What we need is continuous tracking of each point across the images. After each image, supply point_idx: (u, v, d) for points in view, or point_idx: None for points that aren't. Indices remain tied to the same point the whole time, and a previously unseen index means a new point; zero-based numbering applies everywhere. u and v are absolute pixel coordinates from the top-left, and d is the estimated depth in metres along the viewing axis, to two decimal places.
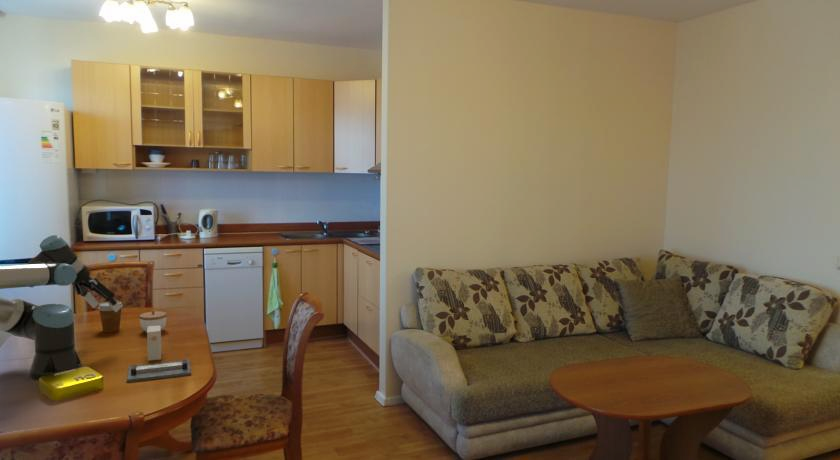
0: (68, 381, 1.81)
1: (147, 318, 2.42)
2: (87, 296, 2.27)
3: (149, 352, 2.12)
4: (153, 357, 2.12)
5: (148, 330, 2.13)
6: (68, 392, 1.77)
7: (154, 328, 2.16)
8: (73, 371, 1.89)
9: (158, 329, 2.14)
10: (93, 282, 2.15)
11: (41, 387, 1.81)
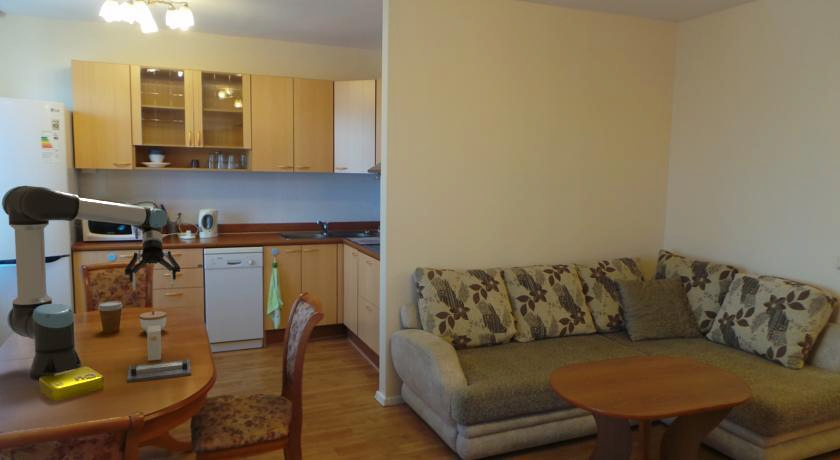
0: (68, 380, 1.81)
1: (147, 318, 2.42)
2: None
3: (149, 352, 2.12)
4: (153, 357, 2.12)
5: (148, 330, 2.13)
6: (68, 392, 1.77)
7: (154, 328, 2.16)
8: (73, 371, 1.89)
9: (158, 329, 2.14)
10: None
11: (41, 387, 1.81)
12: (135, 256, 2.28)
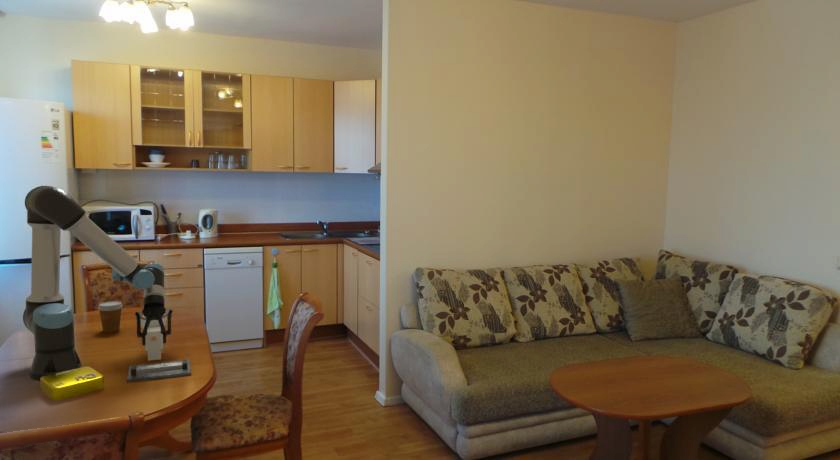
0: (68, 380, 1.81)
1: None
2: None
3: (149, 352, 2.12)
4: (153, 357, 2.12)
5: (148, 330, 2.13)
6: (68, 392, 1.77)
7: (154, 328, 2.16)
8: (74, 371, 1.89)
9: (158, 329, 2.14)
10: (172, 311, 2.24)
11: (42, 386, 1.81)
12: (138, 316, 2.18)
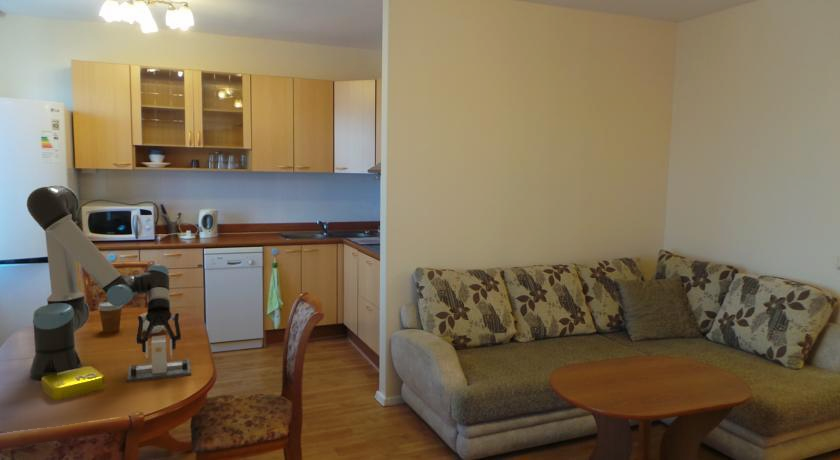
0: (69, 380, 1.81)
1: None
2: None
3: (154, 364, 1.96)
4: (158, 370, 1.97)
5: (152, 341, 1.97)
6: (68, 392, 1.77)
7: (159, 338, 2.00)
8: (76, 370, 1.90)
9: (163, 339, 1.99)
10: (178, 315, 2.09)
11: (43, 386, 1.82)
12: (141, 320, 2.02)
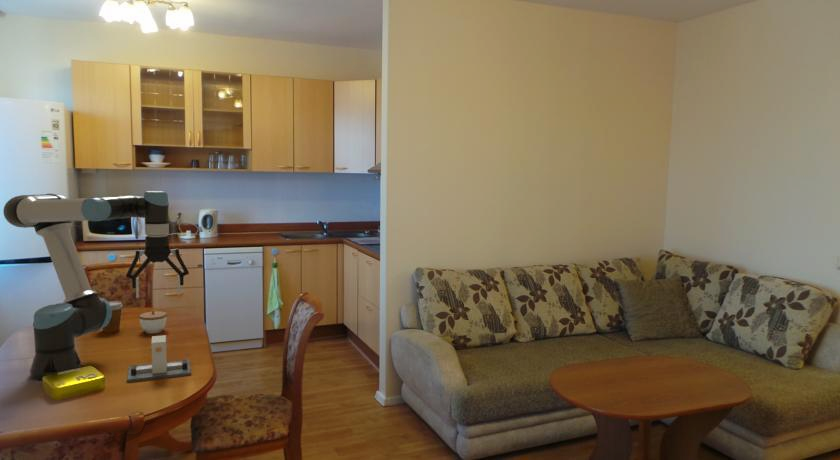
0: (69, 380, 1.81)
1: (147, 318, 2.42)
2: None
3: (154, 364, 1.96)
4: (158, 370, 1.97)
5: (152, 341, 1.97)
6: (69, 392, 1.78)
7: (159, 338, 2.00)
8: (77, 370, 1.90)
9: (163, 339, 1.99)
10: (178, 250, 1.99)
11: (44, 386, 1.82)
12: (137, 256, 1.93)
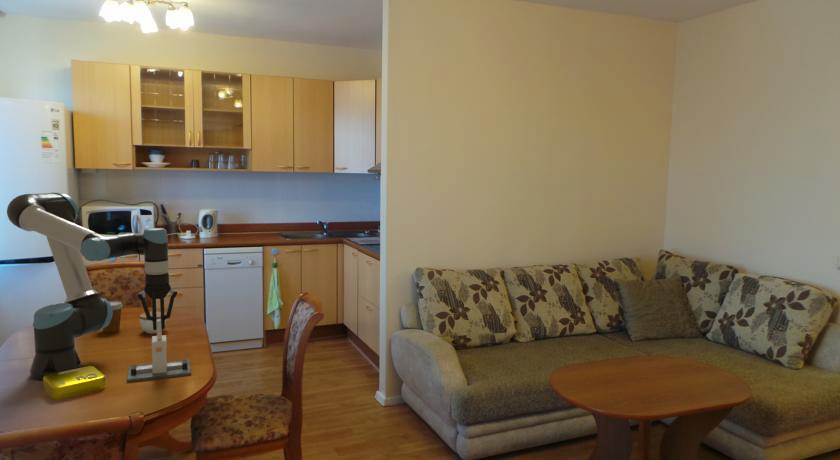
0: (69, 380, 1.81)
1: None
2: None
3: (154, 364, 1.96)
4: (158, 370, 1.97)
5: (153, 340, 1.97)
6: (69, 392, 1.78)
7: None
8: (77, 370, 1.90)
9: (164, 339, 1.99)
10: None
11: (45, 385, 1.82)
12: (142, 298, 1.95)
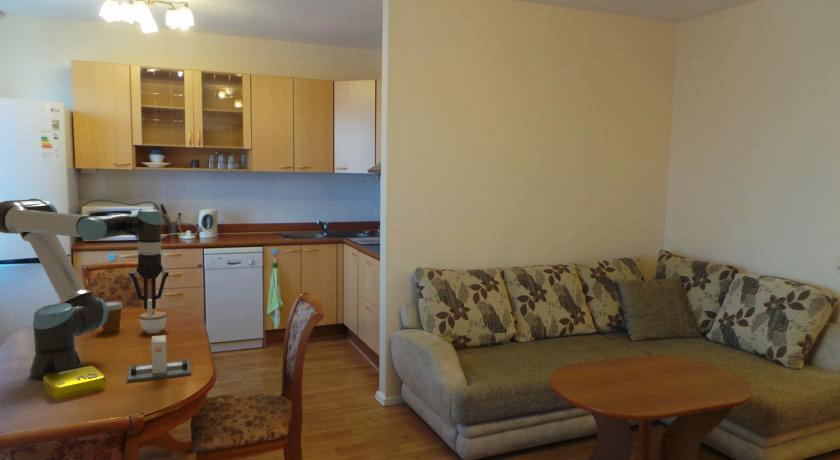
0: (70, 380, 1.81)
1: None
2: None
3: (154, 364, 1.96)
4: (158, 370, 1.97)
5: (152, 341, 1.97)
6: (69, 392, 1.78)
7: (159, 338, 2.00)
8: (78, 370, 1.90)
9: (163, 339, 1.99)
10: (168, 274, 2.04)
11: (45, 385, 1.82)
12: (134, 277, 1.99)
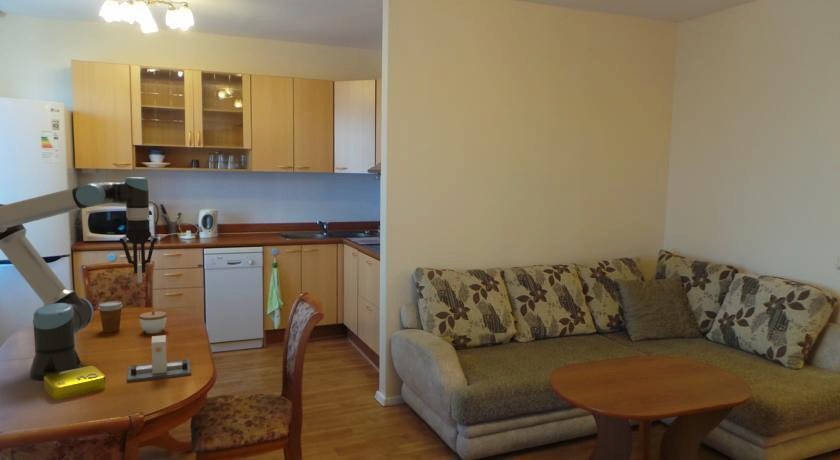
0: (70, 380, 1.81)
1: (147, 318, 2.42)
2: None
3: (154, 364, 1.96)
4: (158, 370, 1.97)
5: (152, 341, 1.97)
6: (69, 392, 1.78)
7: (159, 338, 2.00)
8: (78, 370, 1.90)
9: (163, 339, 1.99)
10: None
11: (45, 385, 1.83)
12: (123, 243, 2.07)
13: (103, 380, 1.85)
